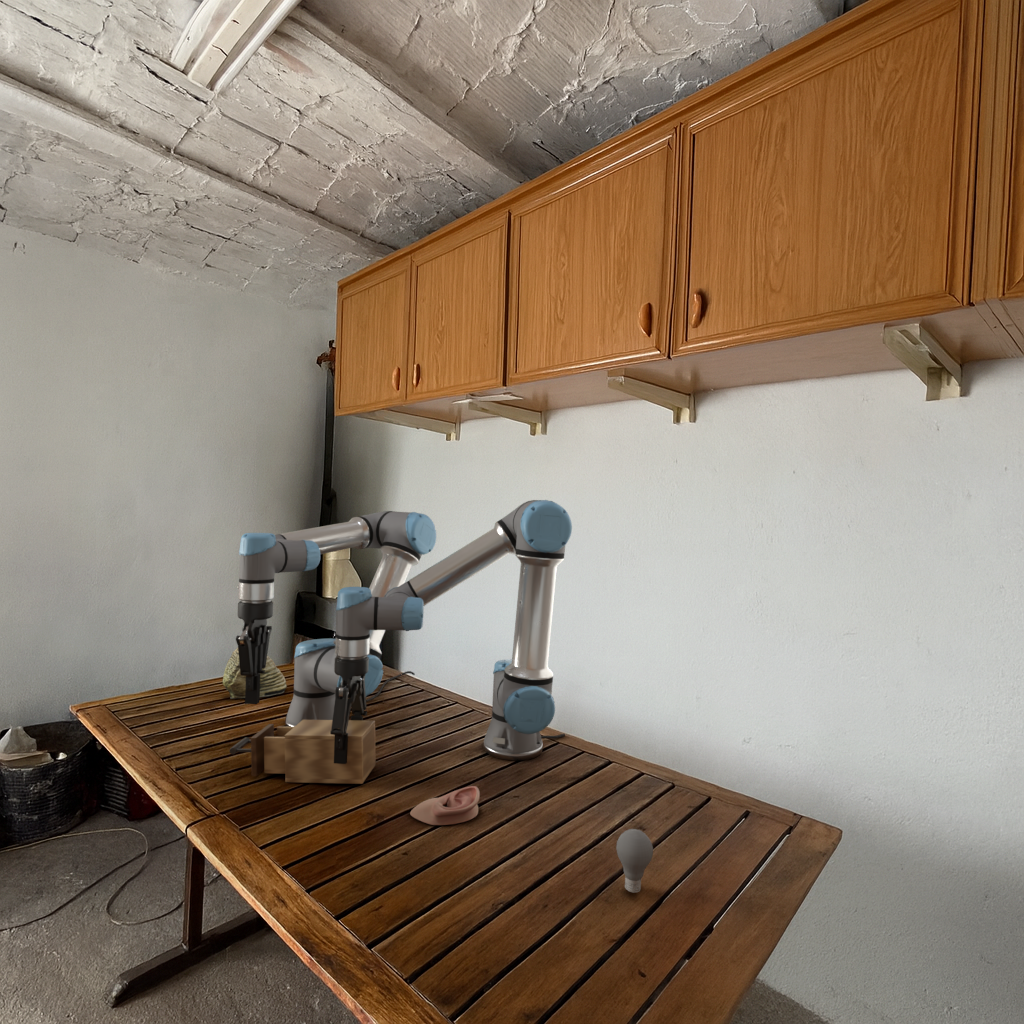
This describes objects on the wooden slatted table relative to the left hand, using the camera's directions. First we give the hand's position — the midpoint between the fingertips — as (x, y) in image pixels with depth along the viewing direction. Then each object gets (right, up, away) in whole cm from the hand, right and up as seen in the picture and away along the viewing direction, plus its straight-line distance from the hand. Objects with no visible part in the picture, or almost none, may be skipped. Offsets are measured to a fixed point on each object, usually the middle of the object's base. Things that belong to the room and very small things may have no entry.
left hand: (252, 702), depth 145 cm
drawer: (+7, -15, 0) cm, 17 cm away
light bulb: (+80, -20, -40) cm, 91 cm away
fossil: (-21, -14, +53) cm, 59 cm away
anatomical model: (+46, -18, -16) cm, 52 cm away
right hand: (+22, -11, -1) cm, 25 cm away
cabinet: (+19, -16, -1) cm, 24 cm away
